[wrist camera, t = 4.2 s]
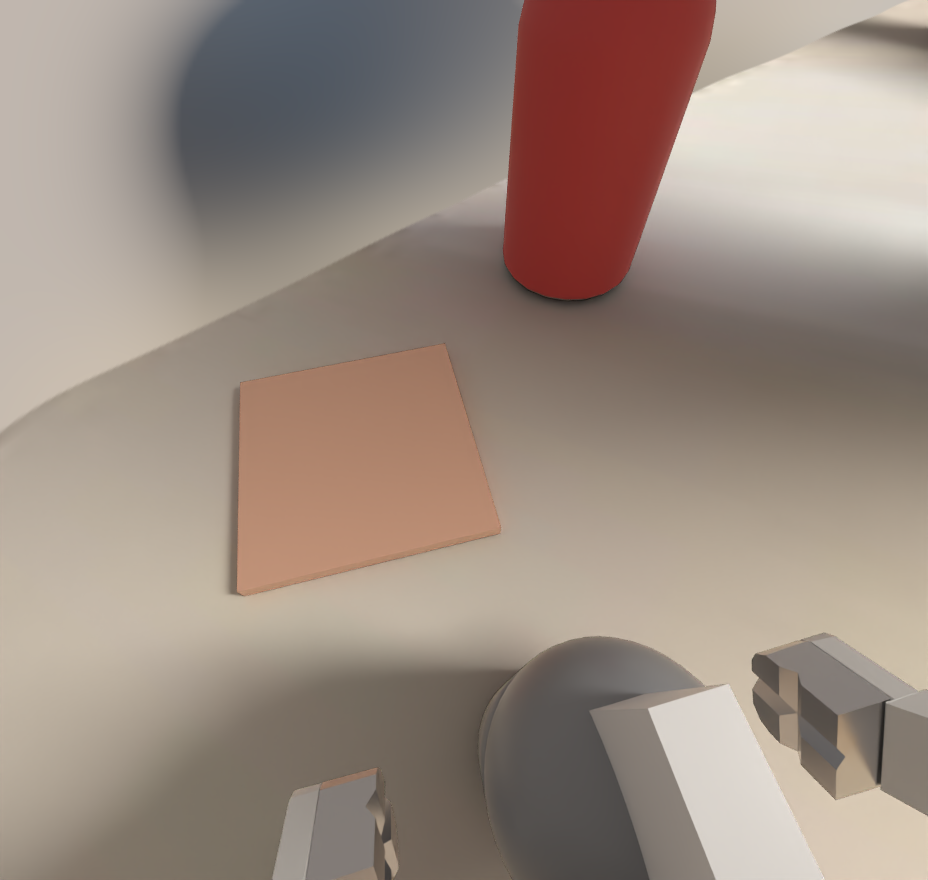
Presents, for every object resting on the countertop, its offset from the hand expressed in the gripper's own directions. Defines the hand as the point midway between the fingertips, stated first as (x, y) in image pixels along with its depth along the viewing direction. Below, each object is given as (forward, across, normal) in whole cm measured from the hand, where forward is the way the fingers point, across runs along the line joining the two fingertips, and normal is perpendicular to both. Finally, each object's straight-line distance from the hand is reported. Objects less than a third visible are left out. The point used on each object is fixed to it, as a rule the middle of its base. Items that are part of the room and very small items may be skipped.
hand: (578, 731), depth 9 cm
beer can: (+18, -8, -10) cm, 22 cm away
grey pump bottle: (+4, 0, +4) cm, 6 cm away
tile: (+11, +4, -4) cm, 12 cm away
